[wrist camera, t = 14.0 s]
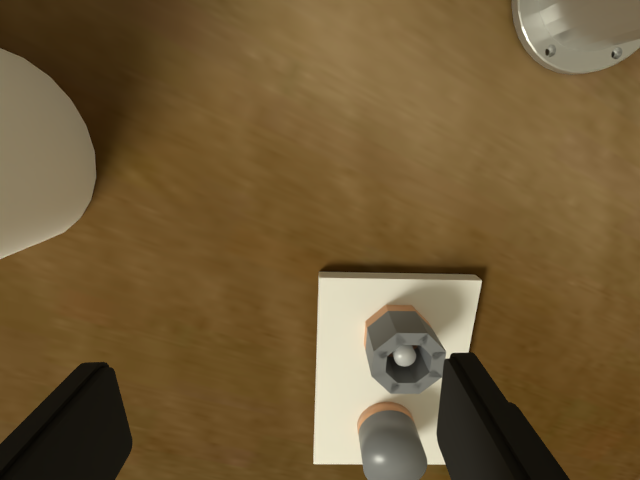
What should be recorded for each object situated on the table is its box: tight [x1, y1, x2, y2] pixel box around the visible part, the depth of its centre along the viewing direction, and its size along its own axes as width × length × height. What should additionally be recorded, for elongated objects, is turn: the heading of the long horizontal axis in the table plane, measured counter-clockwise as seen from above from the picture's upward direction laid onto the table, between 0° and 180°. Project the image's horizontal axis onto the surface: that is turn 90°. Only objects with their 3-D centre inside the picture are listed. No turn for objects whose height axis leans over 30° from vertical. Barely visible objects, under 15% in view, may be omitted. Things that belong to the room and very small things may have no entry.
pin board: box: [314, 272, 482, 480], centre depth 35 cm, size 16×24×6 cm, turn 178°
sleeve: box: [364, 305, 446, 394], centre depth 33 cm, size 6×6×5 cm
